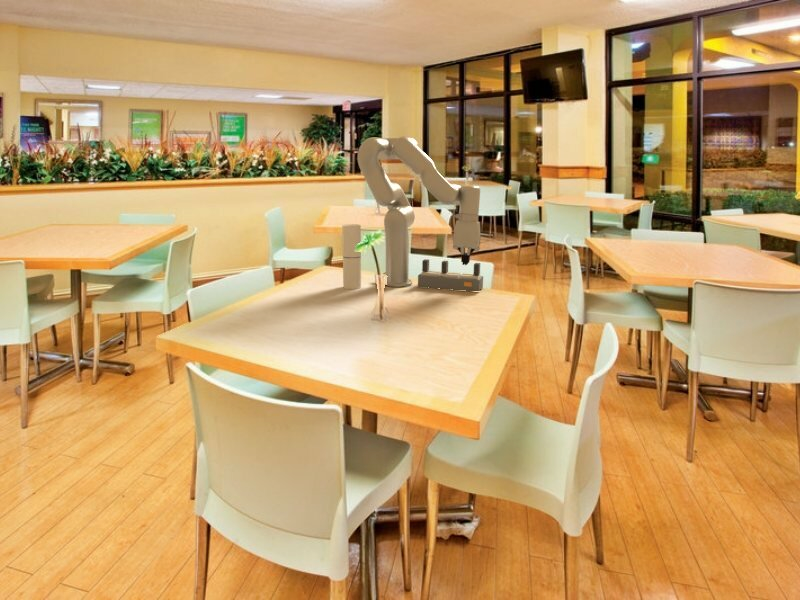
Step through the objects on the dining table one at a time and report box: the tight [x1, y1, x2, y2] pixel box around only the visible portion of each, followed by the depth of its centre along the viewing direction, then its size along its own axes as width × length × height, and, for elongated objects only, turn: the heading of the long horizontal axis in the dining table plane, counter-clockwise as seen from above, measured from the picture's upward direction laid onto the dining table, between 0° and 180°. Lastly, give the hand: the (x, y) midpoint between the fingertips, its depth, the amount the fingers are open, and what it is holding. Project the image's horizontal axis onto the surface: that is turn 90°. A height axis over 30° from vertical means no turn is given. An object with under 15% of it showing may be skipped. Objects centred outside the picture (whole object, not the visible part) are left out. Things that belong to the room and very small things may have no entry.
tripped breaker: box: [473, 262, 481, 276], centre depth 215 cm, size 2×3×4 cm, turn 162°
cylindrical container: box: [341, 223, 362, 290], centre depth 217 cm, size 7×7×25 cm
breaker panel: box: [417, 270, 484, 292], centre depth 220 cm, size 25×8×6 cm, turn 72°
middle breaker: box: [440, 260, 449, 273], centre depth 219 cm, size 2×3×4 cm, turn 161°
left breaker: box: [421, 259, 430, 272], centre depth 222 cm, size 2×3×4 cm, turn 162°
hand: (465, 264), depth 216 cm, fingers closed
